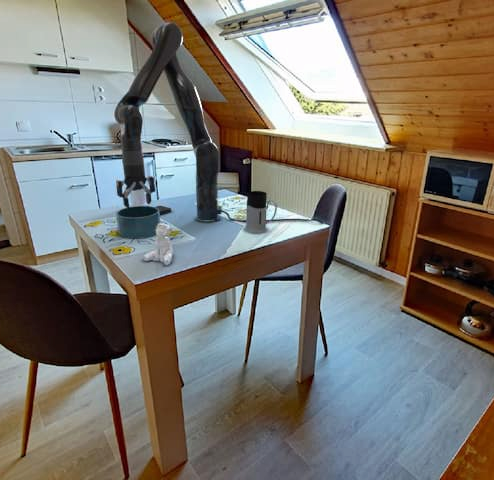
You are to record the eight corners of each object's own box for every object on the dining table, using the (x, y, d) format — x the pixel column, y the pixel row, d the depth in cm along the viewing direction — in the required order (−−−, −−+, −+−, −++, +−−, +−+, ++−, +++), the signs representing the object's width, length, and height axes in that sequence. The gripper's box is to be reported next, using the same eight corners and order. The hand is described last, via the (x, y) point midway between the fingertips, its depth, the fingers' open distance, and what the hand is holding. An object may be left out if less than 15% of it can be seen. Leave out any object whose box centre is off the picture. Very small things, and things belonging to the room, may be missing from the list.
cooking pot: (164, 224, 144) (163, 206, 141) (154, 238, 129) (153, 218, 126) (126, 223, 145) (124, 205, 142) (112, 237, 130) (109, 217, 127)
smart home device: (171, 208, 161) (136, 218, 146) (172, 211, 161) (136, 222, 147) (160, 204, 165) (124, 214, 151) (160, 208, 166) (125, 218, 151)
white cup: (150, 206, 169) (148, 186, 165) (141, 210, 162) (139, 189, 159) (136, 204, 172) (134, 185, 168) (127, 209, 165) (125, 188, 161)
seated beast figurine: (142, 261, 111) (139, 225, 106) (157, 251, 118) (154, 217, 114) (168, 266, 108) (165, 229, 103) (181, 255, 115) (179, 221, 111)
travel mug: (254, 224, 145) (256, 189, 140) (281, 233, 136) (284, 195, 130) (240, 229, 139) (241, 193, 134) (267, 238, 130) (269, 200, 124)
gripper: (117, 166, 120) (123, 211, 126) (155, 162, 128) (159, 204, 134) (110, 163, 125) (116, 206, 131) (147, 159, 133) (151, 200, 139)
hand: (138, 205), depth 133 cm, fingers open, 8 cm apart
